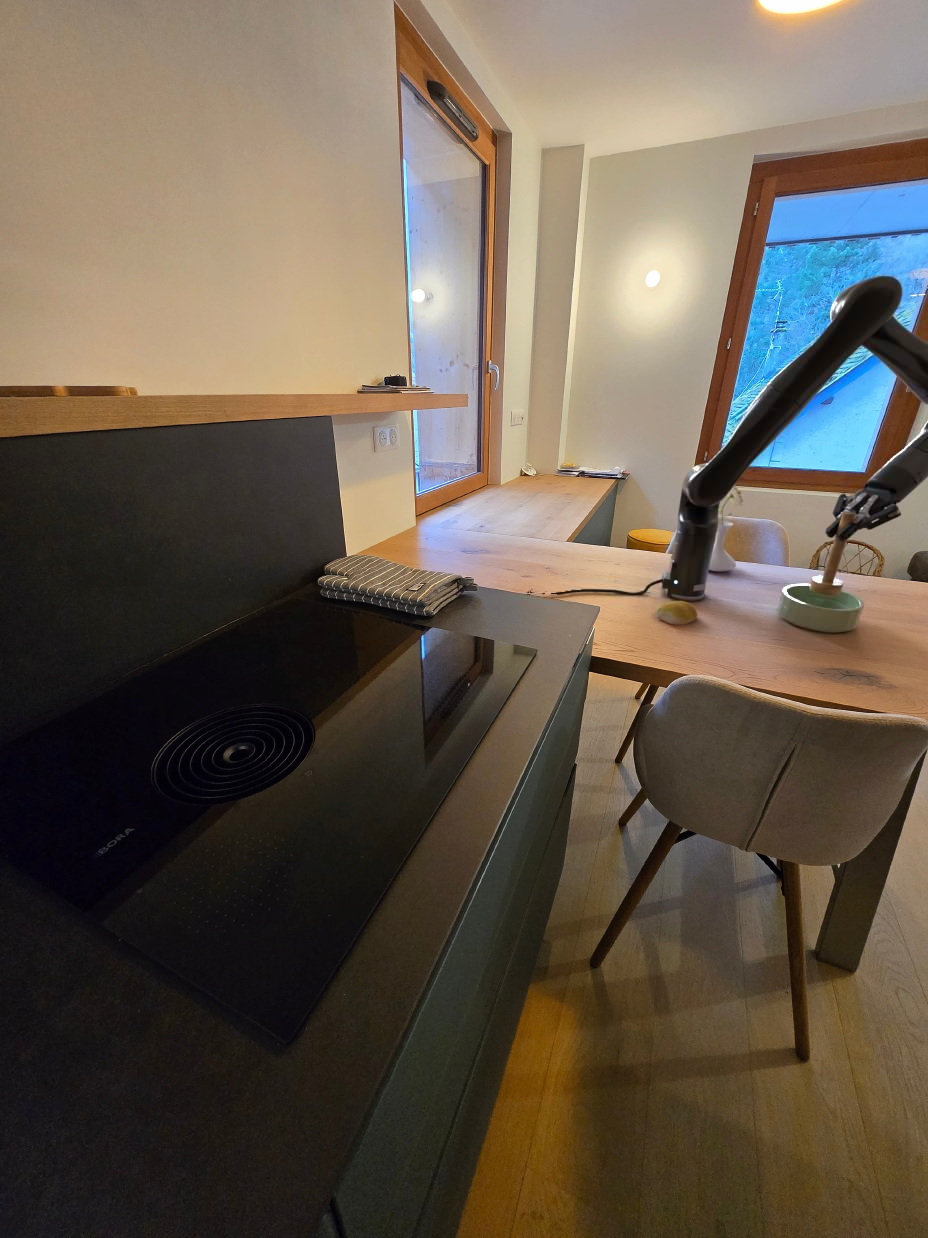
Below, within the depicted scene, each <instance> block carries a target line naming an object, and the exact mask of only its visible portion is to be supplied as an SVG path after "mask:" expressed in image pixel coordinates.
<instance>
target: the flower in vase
mask: <svg viewBox="0 0 928 1238" xmlns="http://www.w3.org/2000/svg"><path fill="white" fill-rule="evenodd" d="M741 494H742V492H741V490H739V489H738V487H737V486H736V484H735V485H734V487H733V488H732V489H731V490H730V492H729V493H728V494H727V496H726V497H728V498H727V499H726V500H725V502H724V503H723V505H722V507H721V508H720V507H719V510H718V514H720V516H721V520H718V529H717V534H716V539H715V543H714V548H713V553H712V557H711V562H710V567H709V571H713V572H727V571H732V570H734V569H735V568H736V567H737V563H736V561H735V559H734V558H733V557H732V556H731V555H730V554H729V553H727V551H726V550H725V548H724V543H725V538H726V535H727V534H728V531H729V530H730V528H731V527H732V526H734V524H733V522H729V521H726V520H725V521H724V519H725V518H727V517H729V516H732V514H733V513H732V512H730V513H729V514H727V515H724V513H723V512H724V508H725V506H726V505H727V503H728V501H730V502H731V503H732V504H733V505H734V506H736V507H737V508H738V507H739V508H740V507H742V506H743V504H742V503H743V502H744V499H743V498H742V495H741ZM723 515H724V516H723Z"/></svg>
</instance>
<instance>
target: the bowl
mask: <svg viewBox="0 0 928 1238" xmlns="http://www.w3.org/2000/svg"><path fill="white" fill-rule="evenodd" d="M809 586H810V583H794V584H789V585H788V584H787V586H785V587H783V588H782V591H781V594H780V598H779V602H778V605H777V607H776V612H777V614H778V615H779V616H780V617H782V618H783V619H784V620H785V621H786V622H788V623H790V624H792V625H793V626H795V627H798V628H801V629H806V630H808V631H814V632H819V633H830V634H837V633H845V632H849V631H853V630H854V629H856V628H857V626H858V624H859V621H860V619H861V616H862V614H863V613H862V612H863V611H864V607H865V601H864V600H862V599H861V598H860V597H859V596H856V595H855V594H853V593H851V592H848V591H845V590H843V589H842V590H841V593H840V594H839V595H835V596H829V595H822V594H818V593H815V592H813V591H811V590H810V589H809Z"/></svg>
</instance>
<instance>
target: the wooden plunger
mask: <svg viewBox="0 0 928 1238" xmlns="http://www.w3.org/2000/svg"><path fill="white" fill-rule="evenodd" d="M854 517H855V513H853V512H843V514H842V517H841V520H840V524H839V527H838V530H837V533H836V535H835V536H834V539H833V543H832V546H831V549H830V552H829V555H828V559H827V562H826V564H825V568H824V572H823V574H822V575H815V576H812V578H811V579H810V583H809V584H810V586H809V589H810V590H811V591H813V592H815V593H818V594H822V595H829V596H835V595H839V594H840V593H841V590H843V587H844V584H845V583H844V581H843V580H841V579H839V578H836V575H837V572H838V569H839V566H840V564H841V561H842V558H843V554H844V551H845V547H846V544H847V543H848V542H847V541H848V539H847V540H845V541H839V539H838V538H837V534H838V533H839V532H840V531H841V530H842V529H843V528H844V527H845V526H846V525H847V524H849V523H850V522H851V523H853V520H854Z"/></svg>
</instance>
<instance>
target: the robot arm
mask: <svg viewBox="0 0 928 1238" xmlns="http://www.w3.org/2000/svg"><path fill="white" fill-rule="evenodd" d="M902 298H903V286H902V283H901V282H900V280H899V279H898V278H896V277H895V276H892V275H877V276H872V277H869V278H866V279H864V280H861V281H858V282H856V283H853V284H852V285H849V286H848V287H846V288H845V289H844V290H842V291H841V292H840V293H839V294H838V296H837V297H836V298H835V299H834V301H833V303H832V306H831V308H830V315H829V316H830V317H829V318H830V321H831V322H829V324H828V325H827V326H826V328H825V329H824V331H822V333H821V334H820V335H819V336H818V338H816V340H815V341H814V342H813V343H812V344H810V345H809V347H808V348H806V350H804V351H803V352H802V353H800V354H799V355H798V356H797V357H796V358H795V359H794V360H792V361H791V362H789V364H787V365H786V366H785V367H784V368H783V369H781V371H780V372H778V373H777V374H776V375H775V376H774V377H773V378H772V379H771V380H770V381H769V382H768V383H767V384H766V386H765V387H764V388H763V389H762V390H761V391H760V393H759V394H758V395H757V396H756V397H755V398H754V400H753V401H752V402H751V403H750V405H749V406H748V407H747V409H746V410H745V411H744V413H743V415H742V417H741V418H740V420H739V422H738V423H737V425H736V426H735V429H734V430H733V432H732V434H731V435H730V437H729V438H728V441H727V442H726V443H725V444H724V446H722V448H721V449H720V450H719V451H718V452H717V453H716V454H715V455H714V456H713V457H712V458H711V460H709V462H707V463H700V464H697V465H695V466H693V467H691V469H690V470H688V472H687V473H686V475H685V476H684V479H683V482H682V487H681V492H680V499H679V505H678V511H677V527H676V532H675V537H674V543H673V549H672V554H671V556H670V560H669V565H668V571H666V572H665V571H663V572H662V576H661V578H660V579H657V580H654V581H652V582H650V583H648V584H647V585H646V586H645V588H644V589H643V590H641V591H637V592H630V591H624V590H619V589H609V588H605V589H604V588H580V589H581V590H575V589H570V590H571V591H568V590H564V591H565V592H561V591H555V592H556V593H551V594H557V595H556V596H561V595H568V594H576V593H611V594H620V595H627V596H642V595H644V594H646V593H647V592H648V591H649V589H650V588H651V587H653V586H655V585H657V584H661V589H662V590H665V596H666V597H668V598H673V599H676V600H678V601H685V602H688V601H689V602H693V601H695V602H696V601H700V600H702V599H704V596H705V591H706V586H707V582H708V581H707V580H708V576H709V571H710V570H709V567H710V562H711V557H712V553H713V548H714V544H715V541H716V534H717V529H718V521H719V512H718V511H719V508H720V504H721V502H722V501H723V500H724V499H725V498H726V497H728V496H727V494H728V493H729V492H730V490H731V489H732V488H733V487H734V485H735V486H736V484H737V483H738V481H739V480H740V479H741V477H742V476H743V475H744V473H745V472H746V471H747V470H748V469H749V467H750V466H751V465H752V464H753V463H754V462H755V460H756V459H758V457H759V456H760V455H761V454H762V453H763V452H764V451H765V450H767V449H768V447H769V446H770V445H772V443H773V442H774V441H775V440H776V439H777V438H778V437H779V436H780V435H781V434H782V433H783V432H784V431H785V429H786V428H788V427H789V426H790V424H792V422H793V421H794V420H795V419H796V418H797V417H798V416H799V415H800V414H801V413H802V411H804V409H805V408H806V407H807V406H808V404H809V403H810V402H811V401H812V400H813V399H814V398H815V397H816V395H817V394H818V393H820V391H821V390H822V389H823V388H824V387H825V385H826V384H827V383H828V382H829V381H830V380H831V379H832V378H833V376H834V375H835V374H836V373H837V372H838V370H839V369H840V368H841V367H842V366H843V364H845V363H846V361H847V360H848V359H849V358H851V356H853V354H854V353H856V352H857V351H858V350H859V349H860V348H861V347H863V348H864V349H866V350H867V351H868V352H870V353H871V354H872V355H873V356H874V357H876V358H877V359H878V360H879V361H880V362H882V363H883V364H884V366H886V367H887V369H888V370H890V371H891V372H892V373H893V374H894V375H895V376H896V377H897V378H898V379H899V380H900V381H901V382H902V383H903V384H904V386H906V387H907V389H908V390H909V391H910V392H911V393H913V395H914V396H915V397H916V398H917V399H918V400H919V401H920V402H921V403H923V404H924V405H927V406H928V341H926V340H924V339H923V338H921V337H920V336H918V335H916V334H915V333H913V332H911V330H909V329H908V328H907V327H905V326H904V325H903V324H902V323H901V322H900V321H899V320H898V319H897V318H896V317H895V313H896V312H897V310H898V309H899V307H900V305H901V302H902ZM927 478H928V421H926V423H925V424H924V426H923V427H922V429H921V431H920V432H919V434H918V435H917V436H916V437H915V438H913V440H912V441H910V442H909V443H908V445H906V446H905V447H904V448H903V449H902V450H901V451H899V452H898V453H896V454H895V455H894V456H892V457H891V458H890V459H889V460H888V461H887V462H886V463H885V464H884V465H882V466H881V468H880V469H879V470H877V471H876V472H875V473H874V474H873V475H872V476H871V477H870V478H869V479H867V480H866V482H865V485H864V487H863V488H862V489H859V490H858V491H856V492H855V493H854V494H852V495H846V493H841V494H839V496H838V499H837V501H836V503H835V506H834V508H833V511H832V515H833V517H834V519H835V520H834V521H833V522H832V523H831V524H830V525H829V526H827V527H826V528H825V533H824V534H825V535H826V537H827V538H830V539H832V538H835V536H836V533H837V530H838V527H839V524H840V520H841V517H842V514H843V512H853V513H855V517H854V520H853V523H851V522H850V523H849V524H847V525H846V526H845V527H844V528H843V529H842V530H841V531H840V532H839V533H838V534H837V538H838V539H839V541H845V540H847V541H848V540H849V539H850V538H851V537H852V536H854V535H855V533H857V532H858V531H860V530H863V529H866V530H868V531H870V530H873V529H875V528H877V527H880V526H882V525H884V524H886V523H888V522H890V521H893V520H895V519H897V518H899V517H901V515H902V513H901V509H900V507H899V506H898V504H899V503H901V502H902V501H904V499H905V498H906V497H908V496H909V495H910V494H911V493H912V492H913V491H914V490H915V489H916V488H918V486H920V485H921V484H922V483H923V482H925V480H926V479H927ZM529 591H530V590H528V591H526V593H529ZM530 593H531V594H533V593H534V592H531V591H530ZM544 594H545V593H542V595H544Z"/></svg>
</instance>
